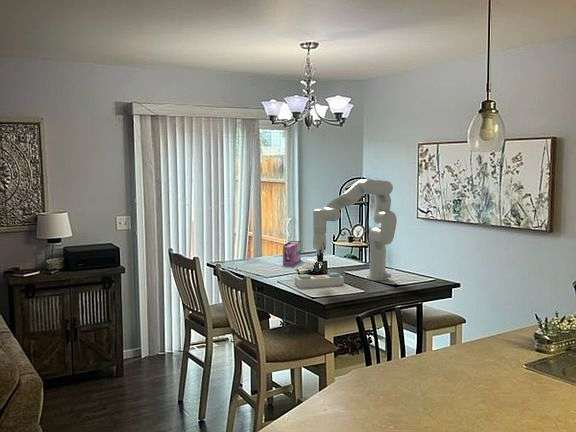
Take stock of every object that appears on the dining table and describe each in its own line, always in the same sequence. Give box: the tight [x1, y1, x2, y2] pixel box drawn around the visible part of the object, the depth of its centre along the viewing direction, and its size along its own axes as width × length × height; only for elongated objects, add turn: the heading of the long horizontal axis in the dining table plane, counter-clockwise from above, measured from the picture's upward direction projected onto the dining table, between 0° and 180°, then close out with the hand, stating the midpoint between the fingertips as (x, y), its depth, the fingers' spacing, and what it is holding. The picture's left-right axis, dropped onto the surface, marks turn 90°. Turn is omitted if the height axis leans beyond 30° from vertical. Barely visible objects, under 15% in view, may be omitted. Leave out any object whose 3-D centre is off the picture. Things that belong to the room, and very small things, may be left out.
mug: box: [301, 258, 324, 272], centre depth 365 cm, size 12×10×8 cm
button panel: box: [294, 274, 345, 289], centre depth 329 cm, size 27×9×4 cm, turn 107°
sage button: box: [298, 273, 312, 279], centre depth 326 cm, size 5×5×3 cm
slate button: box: [327, 272, 340, 277], centre depth 331 cm, size 5×5×3 cm
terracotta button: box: [312, 274, 325, 278], centre depth 328 cm, size 5×5×3 cm
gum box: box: [282, 240, 302, 266], centre depth 400 cm, size 24×8×14 cm, turn 166°
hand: (320, 261), depth 328 cm, fingers closed
